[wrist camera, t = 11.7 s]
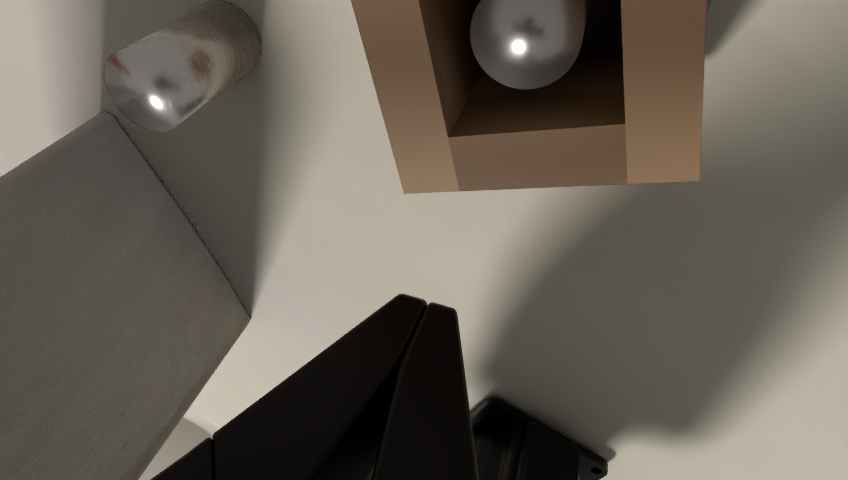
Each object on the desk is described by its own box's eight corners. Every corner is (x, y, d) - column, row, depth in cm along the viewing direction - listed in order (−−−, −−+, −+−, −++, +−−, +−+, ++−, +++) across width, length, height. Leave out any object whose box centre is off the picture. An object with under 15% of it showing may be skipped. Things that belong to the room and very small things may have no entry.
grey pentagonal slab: (228, 403, 34) (-79, 877, 20) (101, 342, 34) (-304, 774, 20) (284, 196, 24) (-290, 886, 9) (100, 106, 24) (-784, 662, 9)
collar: (689, 104, 16) (699, 181, 13) (442, 124, 19) (403, 193, 16) (697, -212, 13) (714, -205, 9) (386, -135, 15) (321, -110, 12)
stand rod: (250, 85, 21) (174, 146, 18) (189, 48, 21) (100, 103, 17) (269, 26, 20) (190, 81, 16) (203, -15, 19) (109, 33, 16)
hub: (582, 162, 19) (569, 246, 16) (365, 26, 19) (303, 84, 15) (790, -80, 14) (837, -32, 11) (501, -281, 13) (454, -298, 10)
